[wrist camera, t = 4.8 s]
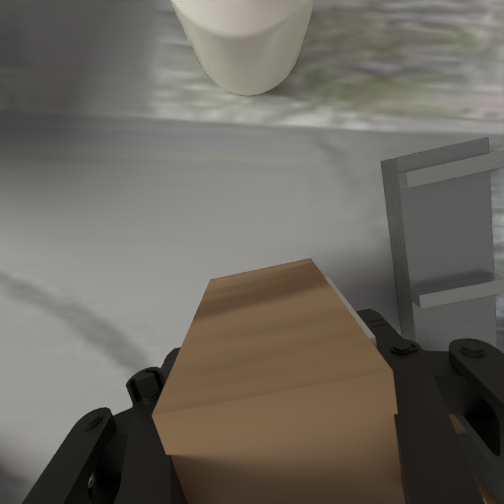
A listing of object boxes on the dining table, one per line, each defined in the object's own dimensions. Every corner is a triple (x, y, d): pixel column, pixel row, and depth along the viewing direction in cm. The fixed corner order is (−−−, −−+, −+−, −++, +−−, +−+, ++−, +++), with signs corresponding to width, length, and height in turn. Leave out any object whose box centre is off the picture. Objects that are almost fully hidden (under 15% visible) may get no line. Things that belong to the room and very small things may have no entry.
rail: (380, 161, 22) (536, 128, 9) (462, 142, 21) (735, 83, 9) (417, 464, 28) (540, 681, 16) (481, 454, 27) (659, 670, 15)
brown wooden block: (210, 279, 17) (151, 415, 7) (310, 258, 16) (393, 370, 7) (232, 360, 18) (208, 568, 8) (325, 342, 18) (412, 537, 8)
